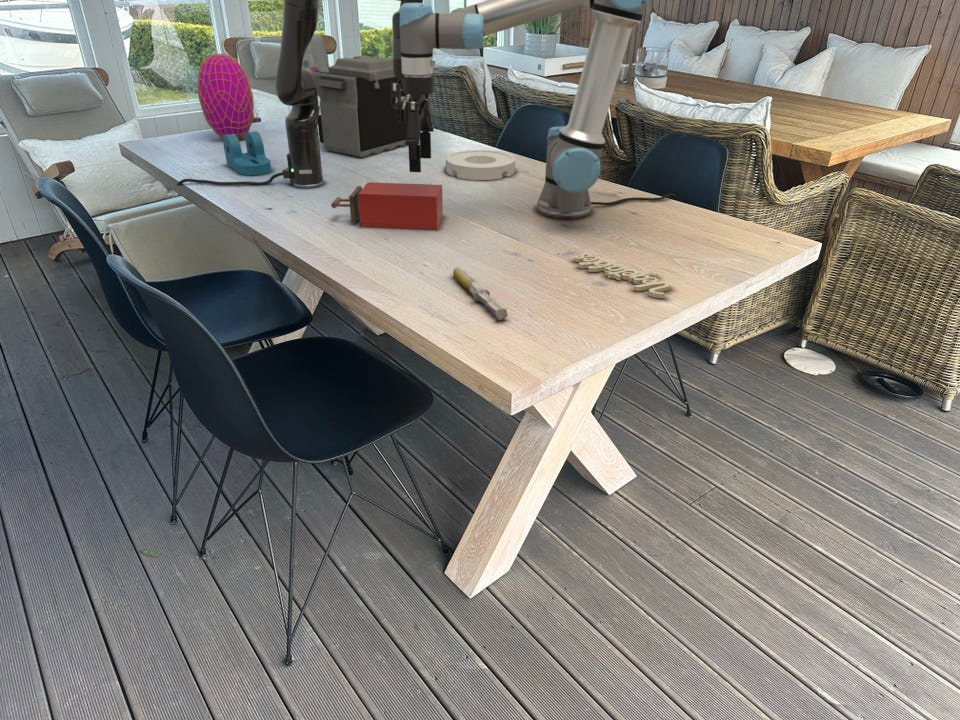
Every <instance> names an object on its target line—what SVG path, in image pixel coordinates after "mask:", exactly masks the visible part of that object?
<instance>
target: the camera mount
mask: <svg viewBox="0 0 960 720" xmlns="http://www.w3.org/2000/svg"><path fill="white" fill-rule="evenodd" d="M244 137H245V146H246V152H243V151H242V150H243V149H242V146H241V142H240V140H239V139H238V138H237V136H236V135H235V134H230V135H224V137H223V138H222V140H223V141H222V143H223V149H224V150H223V151H224V156H225V161H226V165H227V166H228V167H230V168H231V169H232V170H234V171H236V172H237V173H238V174H239V175H244V176H260V175H265V174H268V173H271V172H272V164H271V159H270V158H268V157H267V156H266V153H265V145H264V141H263V139H262V136H261V134H260V132H258V131H248V132H247V133H246V135H245V136H244Z"/></svg>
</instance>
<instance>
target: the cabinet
mask: <svg viewBox="0 0 960 720" xmlns="http://www.w3.org/2000/svg"><path fill="white" fill-rule="evenodd" d="M358 195H359V207H360V217H359V220H360V227H361V228H383V229H407V230H410V229H412V230H432V231H433V230H434V231H435V230H436V231H437V230H438V229H439V226H440V224H441V222H442V219H443V217H444V216H443V213H444V211H443V184H431V183H430V184H428V183H427V184H426V183H404V182H403V183H400V182H374V181H373V182H370V181H367V183H366V184H364V186H363V187H362V190H361V191H360V192H359V194H358Z"/></svg>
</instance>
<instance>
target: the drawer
mask: <svg viewBox="0 0 960 720" xmlns="http://www.w3.org/2000/svg"><path fill="white" fill-rule="evenodd" d="M362 189H363V186H361V185H357V186H356V188H355V189H354V190H353V191H352V192H351V194H350V195H348V198H342V197H340V196H337V197H336V198H335V199H334V200H333V201H332V202H331V204H330V207H331V208H332V209H336V208H337V207H340V208H343V207H344V208H349V211H350V222H351V223H356V222H357V221H358V220H359V219H360V207H359V195H358V194H359V192H360V191H361V190H362ZM342 202H344V203H342Z"/></svg>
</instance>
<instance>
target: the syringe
mask: <svg viewBox="0 0 960 720" xmlns="http://www.w3.org/2000/svg"><path fill="white" fill-rule="evenodd" d="M452 274H453V277H454V279H455V280H457V281H458V282H459V283H460V285H462V287H464V289H466V290H467V291H468V293H470V295H471V296H472V298H473V300H474V302H477V303H478V302H480V303H482V304H483V305H484V306H485V307H486V308H487V309H488V310H489V311H490V312H491V313H492V314H493V315H494V316H495V317H496V320H497V321H503V320H504V319H506V318H507V317H509V314H508V310H507V308H506V307H502V306H501V305H500V303H498V302H497V301H496V300H494V299H493V298H492V297H491V296H490V295H491V293H490V290H488V289H486V288H483V287H482V286H481V285H480V284H479V283H478V282H477V281H476V280H474V278H473V277H471V275H469V274H468V273H467V272H466V270H465V269H464V268H463V267H462V266H456V267H454V268H453V271H452Z"/></svg>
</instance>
